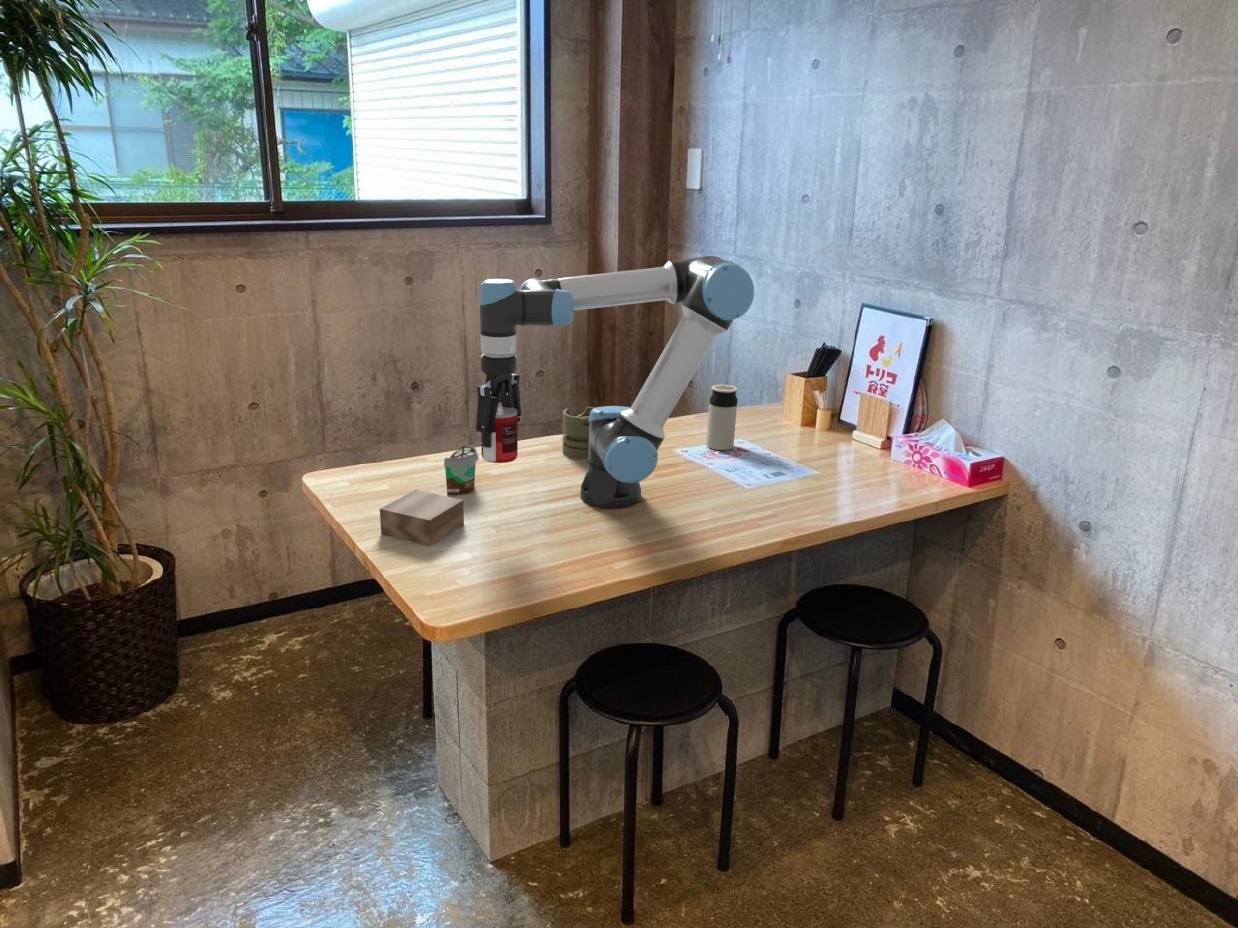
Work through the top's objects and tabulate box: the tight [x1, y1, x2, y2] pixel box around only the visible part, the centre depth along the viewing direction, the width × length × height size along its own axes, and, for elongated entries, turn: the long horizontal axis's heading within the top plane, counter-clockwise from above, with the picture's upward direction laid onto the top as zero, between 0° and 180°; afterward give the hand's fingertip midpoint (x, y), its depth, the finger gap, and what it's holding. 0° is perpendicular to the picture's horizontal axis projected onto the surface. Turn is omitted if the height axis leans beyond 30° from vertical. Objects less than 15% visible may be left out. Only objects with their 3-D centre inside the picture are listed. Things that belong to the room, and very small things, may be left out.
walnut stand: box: [379, 489, 465, 547], centre depth 197 cm, size 13×13×6 cm
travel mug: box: [706, 384, 738, 451], centre depth 257 cm, size 8×8×18 cm
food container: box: [443, 443, 480, 496], centre depth 219 cm, size 12×6×10 cm, turn 168°
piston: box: [562, 406, 595, 460], centre depth 249 cm, size 11×12×11 cm
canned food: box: [480, 405, 519, 464], centre depth 194 cm, size 8×8×11 cm
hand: (499, 454), depth 195 cm, fingers closed on canned food, 8 cm apart
